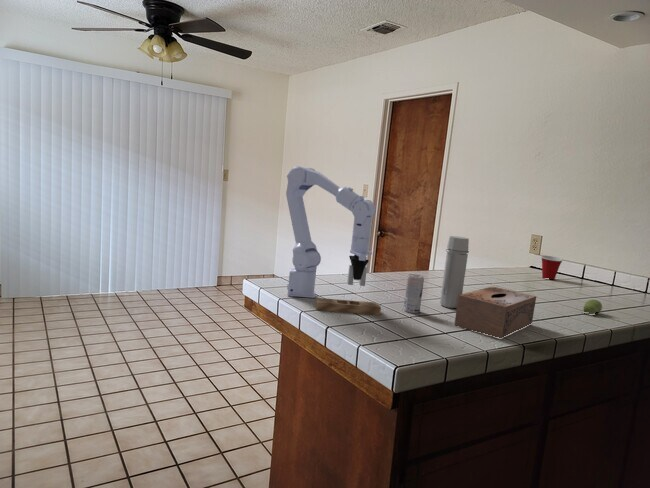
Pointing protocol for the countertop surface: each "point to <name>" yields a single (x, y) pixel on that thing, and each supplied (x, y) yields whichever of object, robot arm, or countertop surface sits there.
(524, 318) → the tissue box cover
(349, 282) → the brushed metal block
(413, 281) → the energy drink
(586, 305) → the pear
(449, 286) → the water bottle
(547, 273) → the plastic cup
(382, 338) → the countertop surface
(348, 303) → the rail
